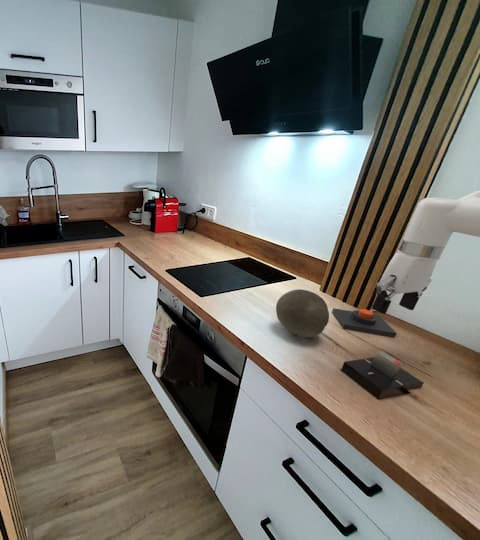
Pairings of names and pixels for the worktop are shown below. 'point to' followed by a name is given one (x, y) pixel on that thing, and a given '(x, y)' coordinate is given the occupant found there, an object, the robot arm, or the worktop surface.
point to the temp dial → (386, 364)
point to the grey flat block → (363, 323)
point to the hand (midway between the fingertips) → (392, 309)
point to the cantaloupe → (302, 313)
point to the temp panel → (380, 379)
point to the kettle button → (365, 313)
